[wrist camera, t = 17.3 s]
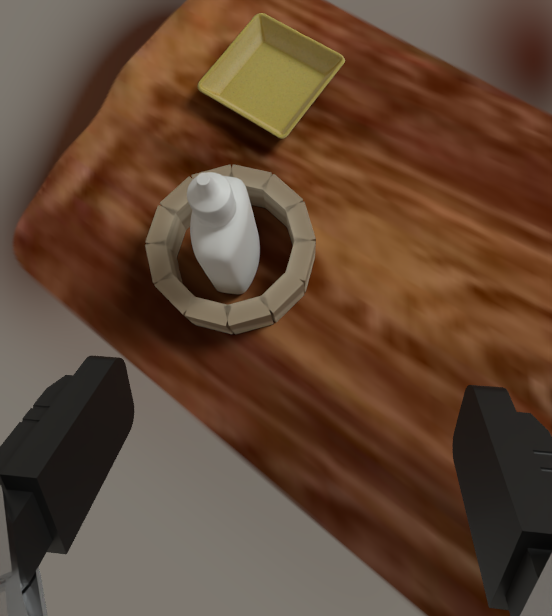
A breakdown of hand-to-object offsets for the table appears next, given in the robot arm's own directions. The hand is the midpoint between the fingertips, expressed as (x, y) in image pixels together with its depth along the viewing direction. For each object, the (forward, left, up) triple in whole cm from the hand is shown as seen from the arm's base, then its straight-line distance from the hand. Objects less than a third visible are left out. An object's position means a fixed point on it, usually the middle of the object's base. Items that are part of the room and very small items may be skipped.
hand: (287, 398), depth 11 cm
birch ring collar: (+12, +1, -22) cm, 25 cm away
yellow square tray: (+26, -5, -23) cm, 35 cm away
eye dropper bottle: (+12, +1, -22) cm, 25 cm away
